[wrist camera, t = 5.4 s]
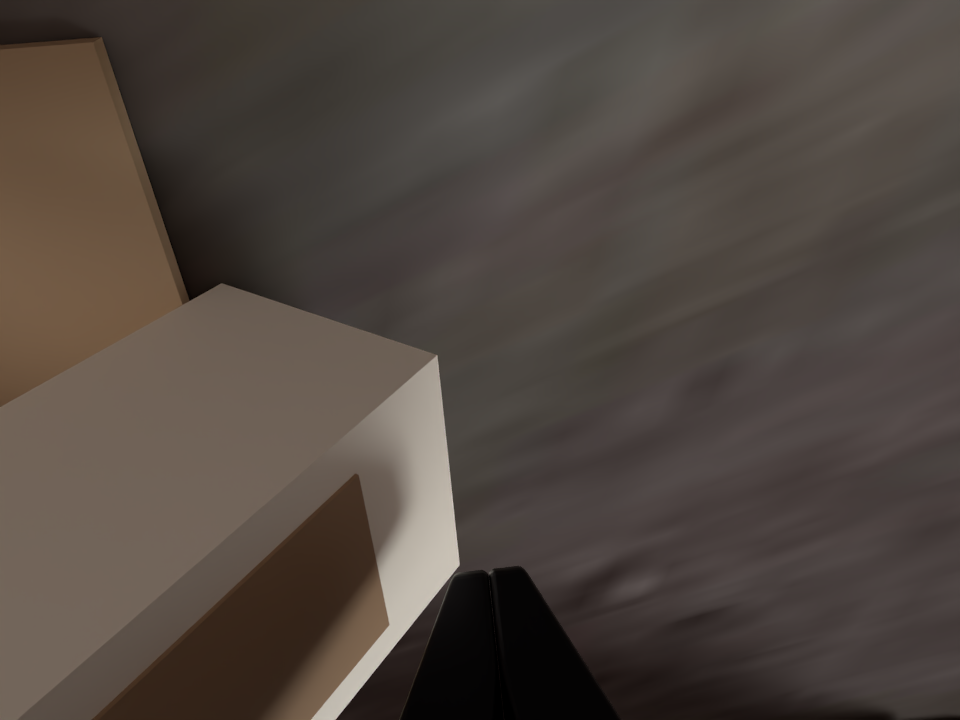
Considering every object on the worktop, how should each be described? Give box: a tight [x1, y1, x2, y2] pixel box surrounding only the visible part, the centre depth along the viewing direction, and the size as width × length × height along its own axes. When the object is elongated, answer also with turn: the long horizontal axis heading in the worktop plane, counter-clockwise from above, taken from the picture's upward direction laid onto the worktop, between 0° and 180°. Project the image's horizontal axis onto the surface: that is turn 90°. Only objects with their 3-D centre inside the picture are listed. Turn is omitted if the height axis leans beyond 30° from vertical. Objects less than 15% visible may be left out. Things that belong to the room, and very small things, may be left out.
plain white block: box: [0, 283, 460, 720], centre depth 8 cm, size 4×4×8 cm
